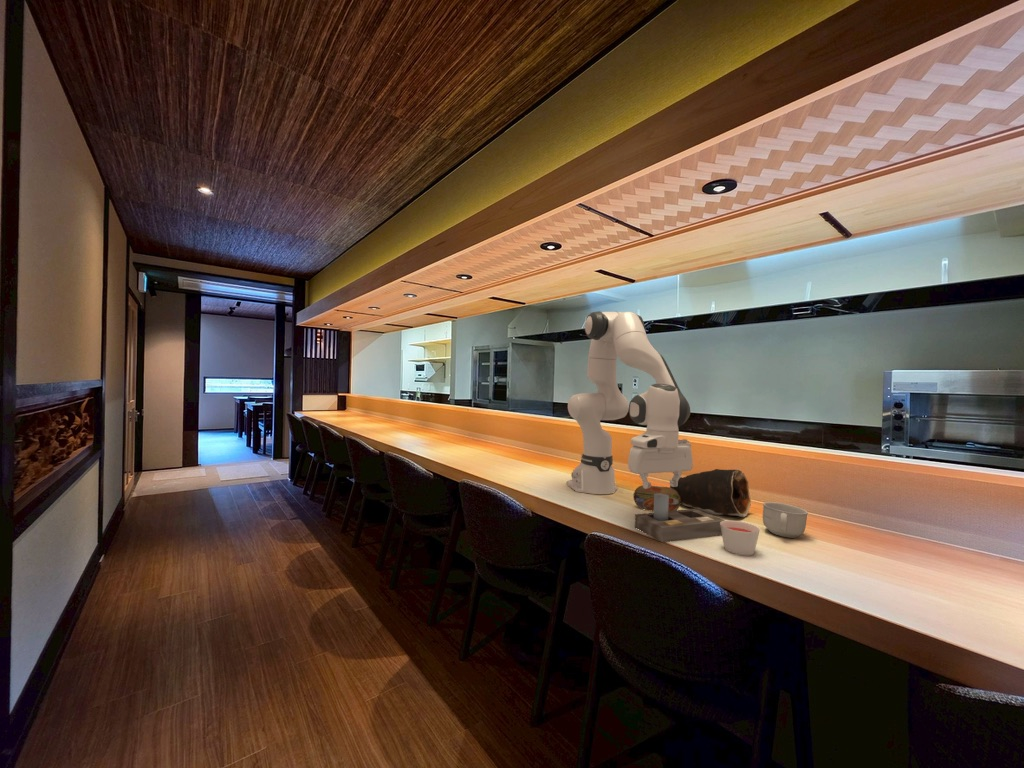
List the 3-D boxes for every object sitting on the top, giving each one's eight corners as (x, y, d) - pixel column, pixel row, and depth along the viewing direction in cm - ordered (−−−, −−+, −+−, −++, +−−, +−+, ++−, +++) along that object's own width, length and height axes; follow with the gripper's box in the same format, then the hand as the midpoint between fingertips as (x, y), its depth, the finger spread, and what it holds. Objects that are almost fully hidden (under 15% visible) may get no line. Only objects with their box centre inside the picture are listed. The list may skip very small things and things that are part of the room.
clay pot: (675, 466, 160) (744, 463, 141) (684, 506, 159) (755, 508, 140) (656, 476, 149) (728, 475, 131) (665, 518, 149) (739, 523, 130)
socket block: (634, 527, 123) (635, 513, 123) (694, 521, 131) (694, 507, 131) (662, 542, 112) (662, 526, 112) (725, 534, 119) (725, 519, 119)
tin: (633, 508, 144) (633, 483, 144) (634, 505, 146) (635, 481, 146) (679, 515, 137) (680, 489, 137) (680, 513, 139) (681, 487, 139)
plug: (650, 528, 122) (651, 493, 122) (661, 526, 123) (662, 493, 123) (659, 532, 118) (660, 497, 118) (670, 531, 120) (671, 496, 120)
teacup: (768, 525, 128) (768, 499, 128) (810, 534, 121) (811, 507, 121) (754, 536, 119) (755, 508, 119) (799, 547, 111) (800, 517, 111)
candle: (743, 560, 102) (744, 534, 102) (711, 546, 110) (712, 522, 110) (767, 554, 106) (767, 529, 106) (734, 542, 114) (735, 518, 114)
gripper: (683, 437, 127) (681, 482, 128) (626, 438, 121) (624, 486, 121) (698, 440, 121) (696, 487, 122) (639, 442, 115) (637, 492, 115)
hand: (660, 487), depth 121 cm, fingers open, 8 cm apart
